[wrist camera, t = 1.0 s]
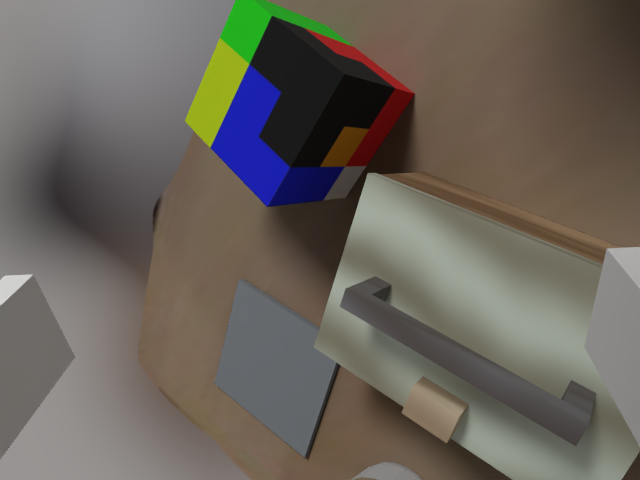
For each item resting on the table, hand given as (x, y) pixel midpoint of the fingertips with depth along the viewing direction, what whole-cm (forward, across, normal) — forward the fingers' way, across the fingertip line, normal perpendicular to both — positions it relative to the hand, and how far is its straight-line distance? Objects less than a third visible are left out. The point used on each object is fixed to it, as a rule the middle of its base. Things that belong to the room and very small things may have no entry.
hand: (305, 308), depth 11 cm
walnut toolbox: (+19, +10, -15) cm, 26 cm away
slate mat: (+25, -9, -27) cm, 38 cm away
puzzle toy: (+31, -1, -4) cm, 31 cm away
